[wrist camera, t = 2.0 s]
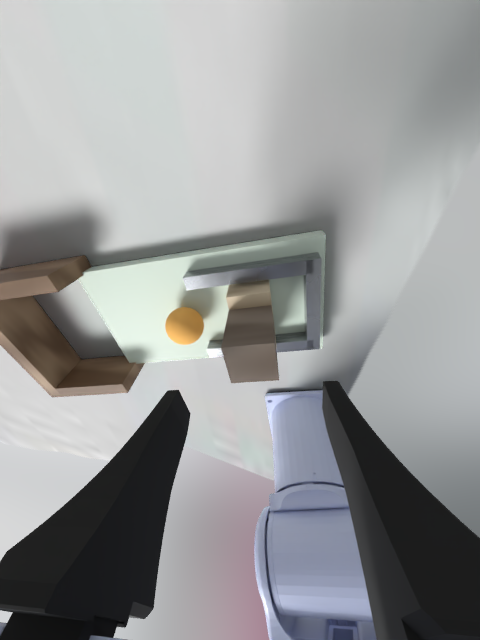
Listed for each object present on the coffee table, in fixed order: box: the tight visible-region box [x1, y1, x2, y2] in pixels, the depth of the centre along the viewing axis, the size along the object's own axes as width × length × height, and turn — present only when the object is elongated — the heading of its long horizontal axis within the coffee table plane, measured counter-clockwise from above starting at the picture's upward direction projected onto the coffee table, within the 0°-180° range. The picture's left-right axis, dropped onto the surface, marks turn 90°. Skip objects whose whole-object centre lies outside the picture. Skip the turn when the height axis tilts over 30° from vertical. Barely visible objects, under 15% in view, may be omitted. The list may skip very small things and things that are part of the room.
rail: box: [183, 252, 322, 358], centre depth 18 cm, size 8×10×1 cm
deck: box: [78, 230, 326, 364], centre depth 20 cm, size 10×19×1 cm, turn 100°
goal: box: [0, 255, 145, 397], centre depth 21 cm, size 12×8×4 cm
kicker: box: [221, 280, 279, 383], centre depth 16 cm, size 5×3×6 cm, turn 10°
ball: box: [165, 307, 204, 345], centre depth 18 cm, size 3×3×3 cm
